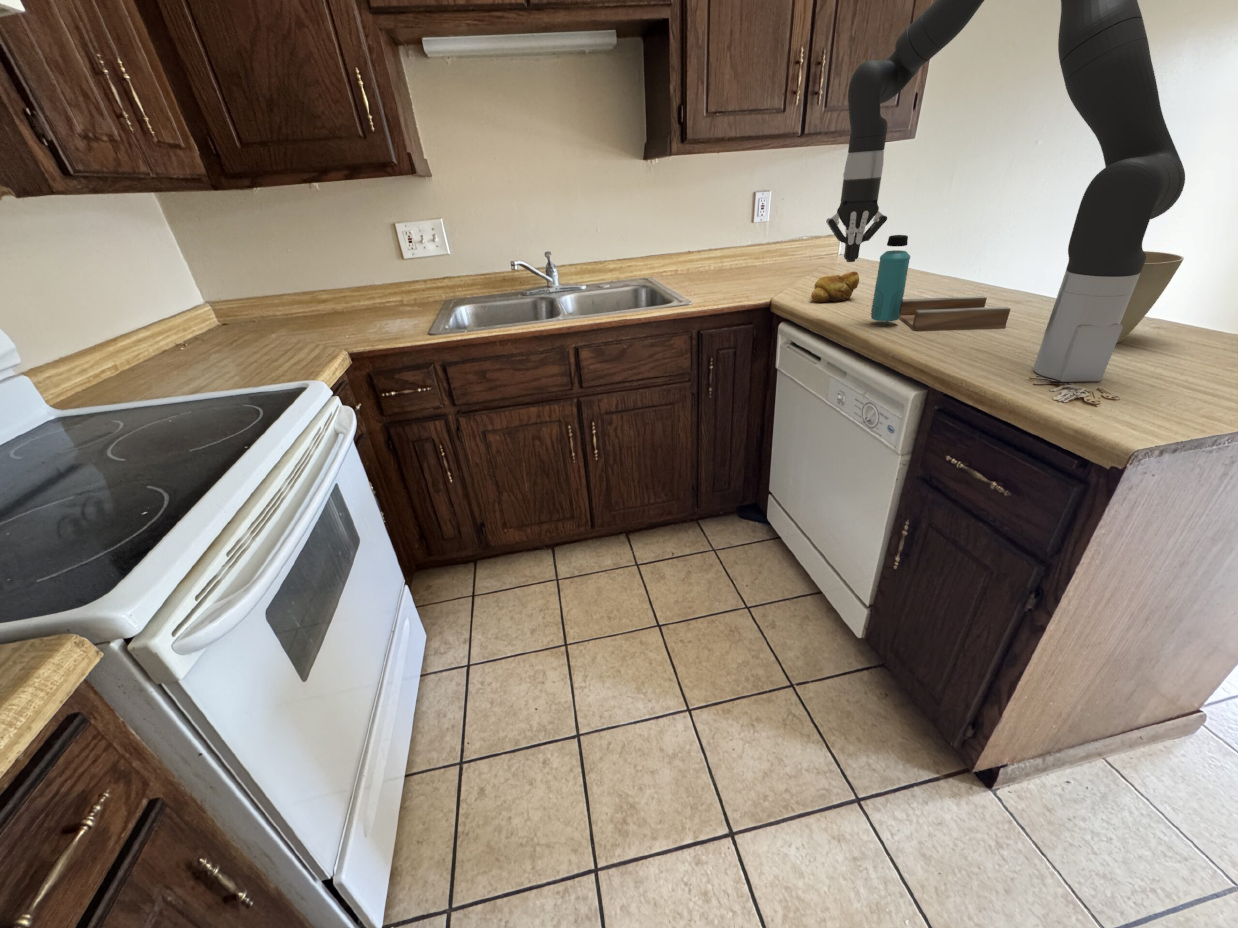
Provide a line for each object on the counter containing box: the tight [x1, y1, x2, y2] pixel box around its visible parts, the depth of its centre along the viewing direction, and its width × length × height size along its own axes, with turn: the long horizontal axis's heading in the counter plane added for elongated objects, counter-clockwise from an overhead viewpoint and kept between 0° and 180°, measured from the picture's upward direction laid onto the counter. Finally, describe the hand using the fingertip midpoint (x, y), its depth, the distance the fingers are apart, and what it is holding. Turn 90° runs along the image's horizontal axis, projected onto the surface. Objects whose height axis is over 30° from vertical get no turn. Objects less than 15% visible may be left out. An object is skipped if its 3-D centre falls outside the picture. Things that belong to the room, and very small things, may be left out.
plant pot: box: [1116, 250, 1185, 344], centre depth 103 cm, size 15×15×16 cm
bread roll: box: [810, 271, 860, 303], centre depth 150 cm, size 13×10×8 cm
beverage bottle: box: [870, 234, 911, 322], centre depth 121 cm, size 6×7×20 cm
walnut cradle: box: [898, 295, 1011, 332], centre depth 123 cm, size 13×19×4 cm
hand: (850, 261), depth 120 cm, fingers closed
